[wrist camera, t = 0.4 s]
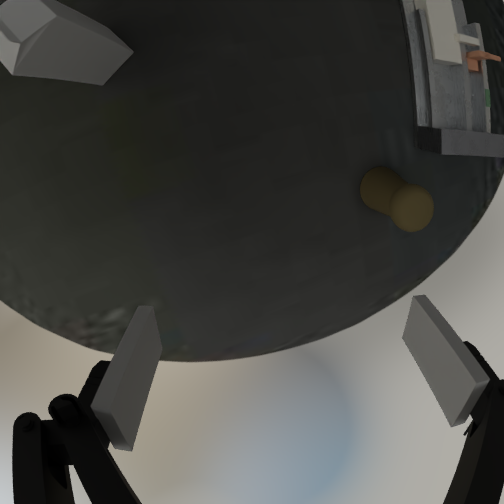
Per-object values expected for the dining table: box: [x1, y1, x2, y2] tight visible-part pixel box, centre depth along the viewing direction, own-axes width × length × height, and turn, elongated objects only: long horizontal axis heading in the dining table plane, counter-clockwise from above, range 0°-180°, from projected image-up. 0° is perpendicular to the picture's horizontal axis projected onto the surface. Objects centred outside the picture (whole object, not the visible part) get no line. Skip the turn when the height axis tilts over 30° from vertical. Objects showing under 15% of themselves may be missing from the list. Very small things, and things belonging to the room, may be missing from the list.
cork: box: [360, 166, 434, 232], centre depth 35 cm, size 6×6×11 cm
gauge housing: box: [399, 0, 504, 157], centre depth 29 cm, size 26×11×7 cm, turn 6°
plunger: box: [414, 0, 480, 66], centre depth 27 cm, size 14×7×5 cm, turn 6°
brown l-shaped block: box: [466, 50, 501, 72], centre depth 29 cm, size 2×4×5 cm, turn 96°
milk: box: [0, 0, 134, 85], centre depth 23 cm, size 6×6×22 cm
